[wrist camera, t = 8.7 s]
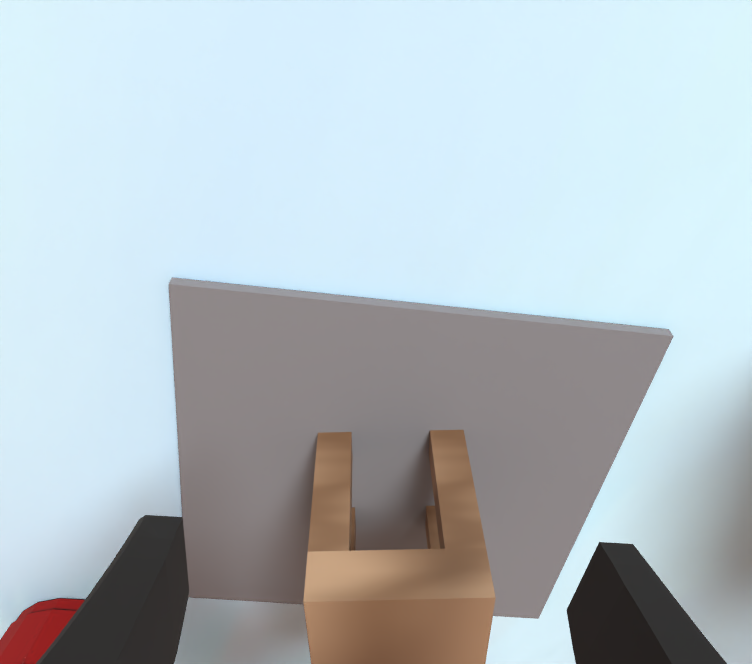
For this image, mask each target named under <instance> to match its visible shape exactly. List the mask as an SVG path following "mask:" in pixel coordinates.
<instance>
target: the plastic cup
mask: <svg viewBox="0 0 752 664" xmlns="http://www.w3.org/2000/svg"><path fill="white" fill-rule="evenodd" d="M84 601H85V600H77V599H61V598H59V599H54V600H48V601H43V602H38V603H36V604H34V605H33V606H31V607H29V608H27V609H26V610H24V611H23V612H22V613H21V615H20V616H19V617H18V619H17V620H16V621H15V622H13V623H12V624H11V625H10V626H9V628H8V629H7V631H6V632H5V634H4V635H3V637H2V638H1V640H0V664H36V663H37V661H38V660H39V659H40V658H41V657H42V655H43V654H44V653H45V652H46V651H47V649H48V648H49V647H50V645H51V644H52V643H53V642H54V640H55V639H56V638H57V636H58V635H59V634H60V633H61V631H62V630H63V629H64V627H65V626H66V625H67V623H68V622H69V621H70V619H71V618H72V617H73V615H74V614H75V613H76V611H77V610H78V609H79V607H80V606H81V605H82V603H83V602H84Z"/></svg>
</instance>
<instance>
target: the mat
mask: <svg viewBox="0 0 752 664" xmlns="http://www.w3.org/2000/svg"><path fill="white" fill-rule="evenodd" d="M169 298H170V314H171V331H172V348H173V365H174V382H175V398H176V415H177V432H178V449H179V466H180V482H181V499H182V516H183V526H184V537H185V548H186V560H187V571H188V582H189V595H188V597H193V598H209V599H226V600H242V601H259V602H275V603H291V604H304V603H303V600H304V588H305V577H306V565H307V553H308V542H309V530H310V518H311V507H312V495H313V483H314V472H315V460H316V448H317V437H318V433H324V432H352V454H353V462H352V507H355V519H356V551H360V550H405V549H428V548H427V538H426V528H425V522H426V506H435V502H434V494H433V486H432V477H431V469H430V461H429V439H430V430H464V435H465V440H466V445H467V450H468V456H469V461H470V466H471V471H472V477H473V482H474V487H475V492H476V498H477V503H478V508H479V513H480V518H481V524H482V529H483V534H484V539H485V545H486V550H487V555H488V560H489V565H490V571H491V576H492V581H493V586H494V592H495V597H496V599H495V605H494V611H493V616H505V617H521V618H537V619H538V618H539V616H540V614H541V612H542V610H543V608H544V606H545V604H546V601H547V599H548V597H549V595H550V593H551V591H552V589H553V587H554V585H555V583H556V581H557V579H558V576H559V574H560V572H561V570H562V568H563V566H564V564H565V562H566V560H567V558H568V556H569V553H570V551H571V549H572V547H573V545H574V543H575V541H576V539H577V537H578V535H579V533H580V530H581V528H582V526H583V524H584V522H585V520H586V518H587V516H588V514H589V512H590V510H591V507H592V505H593V503H594V501H595V499H596V497H597V495H598V493H599V491H600V489H601V487H602V484H603V482H604V480H605V478H606V476H607V474H608V472H609V470H610V468H611V466H612V464H613V461H614V459H615V457H616V455H617V453H618V451H619V449H620V447H621V445H622V443H623V441H624V438H625V436H626V434H627V432H628V430H629V428H630V426H631V424H632V422H633V420H634V418H635V415H636V413H637V411H638V409H639V407H640V405H641V403H642V401H643V399H644V397H645V395H646V393H647V390H648V388H649V386H650V384H651V382H652V380H653V378H654V376H655V374H656V372H657V370H658V367H659V365H660V363H661V361H662V359H663V357H664V355H665V353H666V351H667V349H668V347H669V344H670V342H671V340H672V338H673V335H672V333H671V332H670V331H669V329H661V328H652V327H642V326H632V325H623V324H613V323H604V322H594V321H584V320H575V319H565V318H556V317H546V316H536V315H527V314H517V313H508V312H498V311H488V310H479V309H469V308H460V307H450V306H440V305H431V304H421V303H412V302H402V301H392V300H383V299H373V298H364V297H354V296H344V295H335V294H325V293H316V292H306V291H296V290H287V289H277V288H267V287H258V286H248V285H239V284H229V283H219V282H210V281H200V280H191V279H181V278H172V279H171V281H170V282H169Z"/></svg>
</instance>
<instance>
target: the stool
mask: <svg viewBox="0 0 752 664" xmlns="http://www.w3.org/2000/svg"><path fill="white" fill-rule="evenodd" d="M429 461H430V469H431V477H432V486H433V494H434V502H435V506H426V522H425V528H426V538H427V548H428V549H405V550H360V551H356V519H355V507H352V462H353V454H352V432H324V433H318V437H317V448H316V460H315V472H314V483H313V495H312V507H311V518H310V530H309V542H308V553H307V565H306V577H305V588H304V600H303V603H304V611H305V619H306V626H307V634H308V642H309V649H310V657H311V664H485V661H486V655H487V649H488V642H489V636H490V630H491V624H492V617H493V611H494V605H495V599H496V597H495V592H494V586H493V581H492V576H491V571H490V565H489V560H488V555H487V550H486V545H485V539H484V534H483V529H482V524H481V518H480V513H479V508H478V503H477V498H476V492H475V487H474V482H473V477H472V471H471V466H470V461H469V456H468V450H467V445H466V440H465V435H464V430H430V439H429Z"/></svg>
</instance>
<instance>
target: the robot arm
mask: <svg viewBox="0 0 752 664" xmlns="http://www.w3.org/2000/svg"><path fill="white" fill-rule="evenodd" d="M188 595H189V582H188V571H187V560H186V548H185V537H184V526H183V517H168V516H151V515H145V516H144V517H142V518H141V519H139V521H138V522H137V524H136V526H135V527H134V529H133V531H132V532H131V534H130V535H129V537H128V538H127V540H126V542H125V543H124V545H123V546H122V548H121V549H120V551H119V552H118V554H117V555H116V557H115V558H114V560H113V561H112V563H111V564H110V566H109V567H108V569H107V570H106V571H105V573H104V574H103V576H102V577H101V578H100V580H99V581H98V583H97V584H96V586H95V587H94V588H93V590H92V591H91V593H90V594H89V595H88V597H87V598H86V599H85V601H84V602H83V603H82V605H81V606H80V607H79V609H78V610H77V611H76V613H75V614H74V615H73V617H72V618H71V619H70V621H69V622H68V623H67V625H66V626H65V627H64V629H63V630H62V631H61V633H60V634H59V635H58V636H57V638H56V639H55V640H54V642H53V643H52V644H51V645H50V647H49V648H48V649H47V651H46V652H45V653H44V654H43V655H42V657H41V658H40V659H39V660H38V661H37V663H36V664H174V661H175V657H176V654H177V649H178V645H179V640H180V635H181V630H182V625H183V620H184V615H185V610H186V605H187V600H188ZM567 615H568V621H569V627H570V633H571V639H572V645H573V650H574V655H575V661H576V664H727V663H726V662H725V661H724V660H723V658H722V657H721V656H720V655H719V653H718V652H717V651H716V650H715V649H714V647H713V646H712V645H711V644H710V642H709V641H708V640H707V639H706V637H705V636H704V635H703V634H702V632H701V631H700V630H699V629H698V627H697V626H696V625H695V624H694V622H693V621H692V620H691V618H690V617H689V616H688V615H687V613H686V612H685V611H684V610H683V608H682V607H681V606H680V604H679V603H678V602H677V601H676V599H675V598H674V597H673V595H672V594H671V593H670V591H669V590H668V589H667V588H666V586H665V585H664V584H663V582H662V581H661V580H660V578H659V577H658V576H657V575H656V573H655V572H654V571H653V569H652V568H651V567H650V566H649V564H648V563H647V562H646V560H645V559H644V558H643V557H642V555H641V554H640V553H639V551H638V550H637V549H636V548H635V546H634V545H633V544H621V543H604V542H599V544H598V546H597V548H596V550H595V552H594V554H593V556H592V559H591V561H590V563H589V565H588V567H587V569H586V571H585V573H584V575H583V577H582V579H581V581H580V583H579V586H578V588H577V590H576V592H575V594H574V596H573V598H572V600H571V602H570V604H569V606H568V608H567Z"/></svg>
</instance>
